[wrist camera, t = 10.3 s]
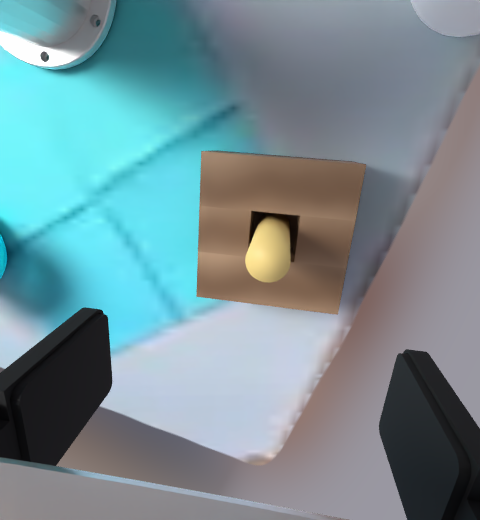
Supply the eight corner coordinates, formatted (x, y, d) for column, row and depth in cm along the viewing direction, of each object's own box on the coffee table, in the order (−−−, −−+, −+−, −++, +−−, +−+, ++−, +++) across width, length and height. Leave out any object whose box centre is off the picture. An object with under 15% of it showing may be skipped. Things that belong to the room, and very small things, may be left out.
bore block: (216, 150, 30) (201, 151, 25) (352, 161, 29) (366, 164, 24) (210, 273, 34) (196, 296, 29) (329, 288, 33) (337, 314, 28)
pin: (260, 208, 30) (247, 237, 20) (291, 212, 30) (293, 242, 20) (256, 239, 31) (243, 279, 21) (287, 242, 30) (287, 285, 21)
